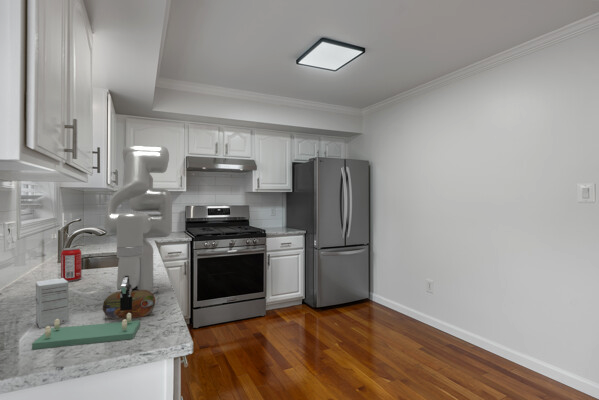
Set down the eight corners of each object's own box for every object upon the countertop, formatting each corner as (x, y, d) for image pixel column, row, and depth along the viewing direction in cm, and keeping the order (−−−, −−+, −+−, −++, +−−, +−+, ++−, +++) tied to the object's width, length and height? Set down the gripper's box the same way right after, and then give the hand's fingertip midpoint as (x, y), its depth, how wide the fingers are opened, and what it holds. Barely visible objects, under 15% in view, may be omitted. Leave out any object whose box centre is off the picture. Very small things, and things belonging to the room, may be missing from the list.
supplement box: (35, 322, 101) (35, 281, 101) (64, 316, 106) (64, 277, 106) (38, 329, 96) (38, 285, 96) (69, 322, 101) (68, 281, 101)
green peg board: (50, 333, 92) (50, 317, 92) (139, 325, 98) (139, 309, 98) (32, 349, 82) (32, 330, 82) (132, 338, 89) (132, 321, 89)
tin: (102, 320, 102) (102, 293, 102) (105, 317, 105) (105, 291, 105) (154, 316, 106) (154, 290, 106) (156, 312, 109) (156, 287, 109)
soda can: (65, 283, 147) (65, 250, 147) (57, 281, 151) (57, 248, 151) (84, 279, 154) (84, 247, 154) (76, 277, 158) (76, 246, 158)
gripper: (123, 249, 113) (123, 299, 112) (109, 256, 96) (109, 315, 96) (147, 248, 115) (147, 297, 115) (137, 255, 98) (137, 312, 98)
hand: (129, 305), depth 105 cm, fingers open, 9 cm apart
